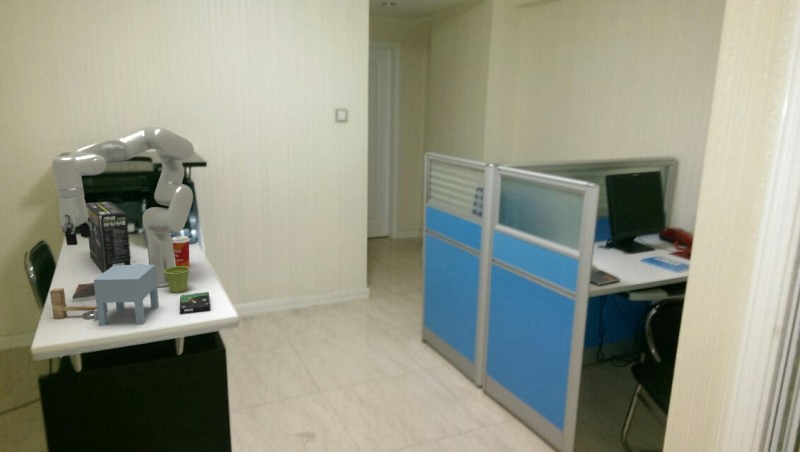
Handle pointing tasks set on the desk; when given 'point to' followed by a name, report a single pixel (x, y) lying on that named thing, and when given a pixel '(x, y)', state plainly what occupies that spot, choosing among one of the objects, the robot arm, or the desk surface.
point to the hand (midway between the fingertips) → (79, 240)
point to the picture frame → (84, 292)
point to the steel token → (88, 315)
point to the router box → (108, 235)
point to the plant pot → (177, 278)
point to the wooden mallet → (60, 305)
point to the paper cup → (181, 250)
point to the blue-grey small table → (126, 289)
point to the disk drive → (194, 303)
